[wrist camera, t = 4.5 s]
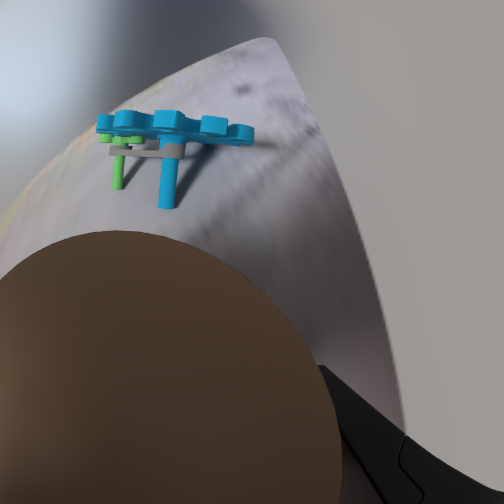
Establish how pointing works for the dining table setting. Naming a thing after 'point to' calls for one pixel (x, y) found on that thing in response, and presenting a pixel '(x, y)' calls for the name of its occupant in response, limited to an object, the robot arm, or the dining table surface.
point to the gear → (164, 141)
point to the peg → (155, 382)
